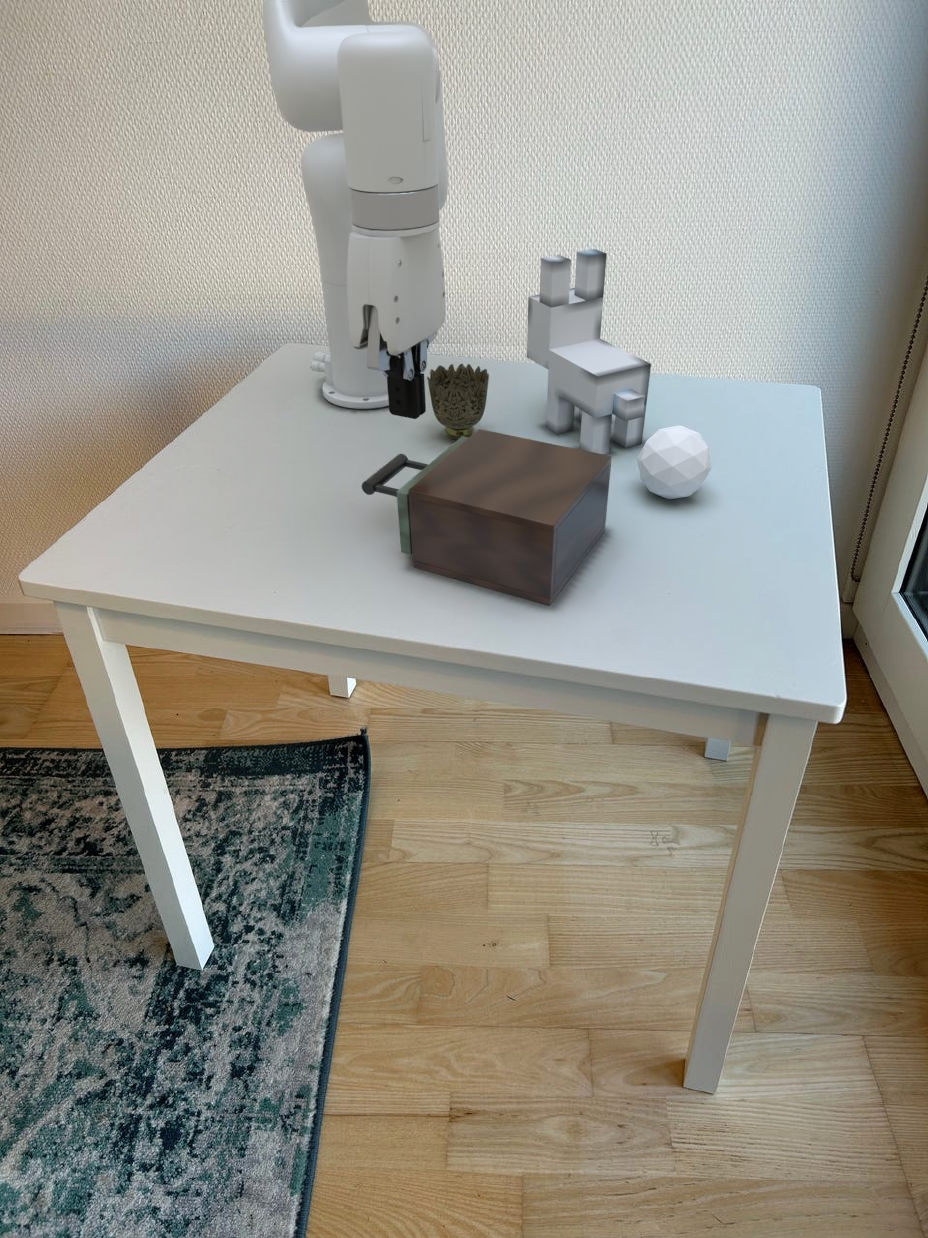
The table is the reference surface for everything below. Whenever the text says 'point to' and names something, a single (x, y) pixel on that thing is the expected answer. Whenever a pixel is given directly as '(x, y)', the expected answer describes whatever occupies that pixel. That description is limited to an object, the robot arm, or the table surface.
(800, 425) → the table surface
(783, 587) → the table surface
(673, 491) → the geometric ball
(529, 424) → the table surface
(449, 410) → the cup
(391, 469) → the drawer
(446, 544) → the cabinet
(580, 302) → the toy llama
